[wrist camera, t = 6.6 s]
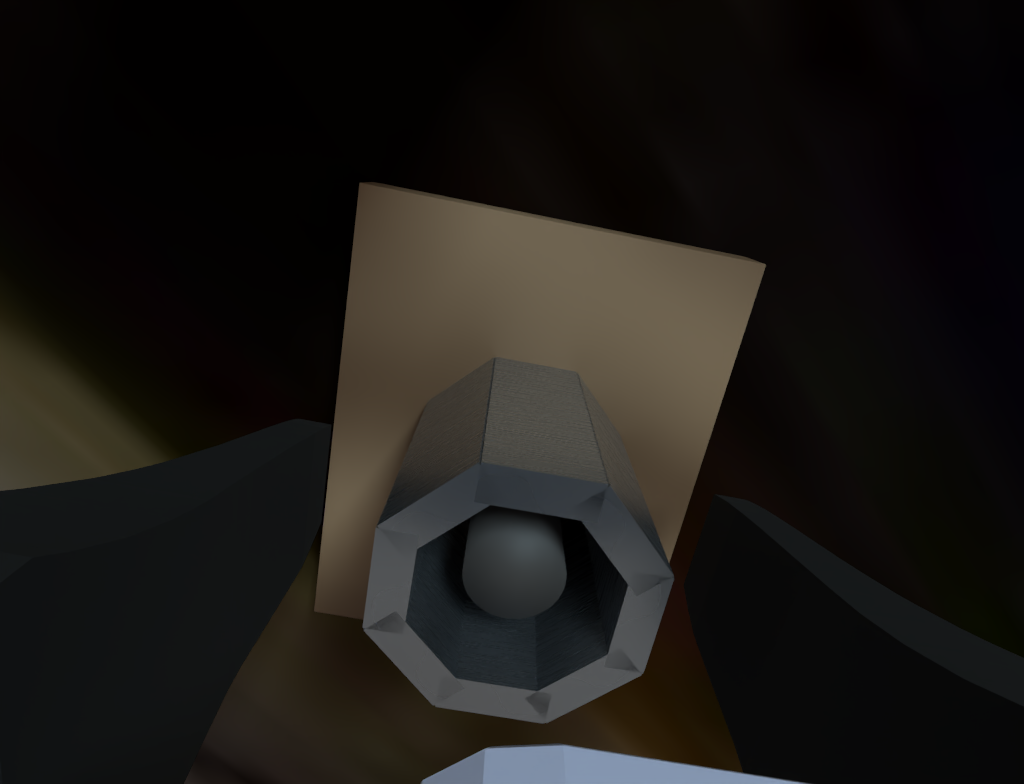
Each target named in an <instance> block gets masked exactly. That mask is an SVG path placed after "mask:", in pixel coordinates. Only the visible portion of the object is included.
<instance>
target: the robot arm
mask: <svg viewBox="0 0 1024 784" xmlns="http://www.w3.org/2000/svg"><path fill="white" fill-rule="evenodd" d="M330 435H331V425H330V424H325V423H319V422H314V421H308V420H303V419H294V420H289V421H286V422H283V423H280V424H277V425H274V426H271V427H268V428H265V429H263V430H260V431H257V432H254V433H252V434H249V435H246V436H243V437H240V438H238V439H235V440H232V441H229V442H226V443H224V444H221V445H218V446H215V447H212V448H208V449H205V450H202V451H199V452H196V453H192V454H189V455H186V456H183V457H180V458H176V459H173V460H170V461H166V462H163V463H159V464H155V465H151V466H147V467H143V468H139V469H135V470H130V471H126V472H121V473H117V474H112V475H107V476H102V477H97V478H92V479H85V480H78V481H72V482H65V483H58V484H51V485H45V486H38V487H31V488H24V489H15V490H6V491H0V784H184V782H185V780H186V777H187V775H188V773H189V771H190V769H191V766H192V764H193V762H194V760H195V758H196V756H197V753H198V751H199V749H200V747H201V745H202V743H203V741H204V738H205V736H206V734H207V732H208V730H209V728H210V726H211V724H212V722H213V720H214V718H215V716H216V713H217V711H218V709H219V707H220V705H221V703H222V701H223V699H224V697H225V695H226V693H227V691H228V689H229V687H230V685H231V683H232V682H233V680H234V678H235V676H236V674H237V673H238V671H239V669H240V667H241V665H242V664H243V662H244V661H245V659H246V657H247V656H248V654H249V652H250V651H251V649H252V648H253V646H254V644H255V643H256V641H257V639H258V638H259V636H260V635H261V633H262V631H263V630H264V628H265V627H266V625H267V623H268V622H269V620H270V618H271V617H272V615H273V614H274V612H275V610H276V609H277V607H278V606H279V604H280V602H281V601H282V599H283V597H284V596H285V594H286V592H287V591H288V589H289V587H290V586H291V584H292V583H293V581H294V579H295V578H296V576H297V574H298V573H299V571H300V569H301V567H302V566H303V563H304V561H305V559H306V557H307V555H308V552H309V550H310V548H311V546H312V543H313V541H314V538H315V536H316V534H317V531H318V529H319V526H320V524H321V520H322V511H323V501H324V492H325V482H326V473H327V463H328V454H329V444H330ZM684 589H685V594H686V600H687V605H688V611H689V615H690V620H691V624H692V629H693V633H694V636H695V639H696V642H697V644H698V647H699V650H700V653H701V656H702V658H703V661H704V664H705V667H706V669H707V672H708V675H709V678H710V680H711V683H712V686H713V688H714V691H715V694H716V696H717V699H718V702H719V704H720V707H721V710H722V713H723V715H724V718H725V721H726V723H727V726H728V729H729V731H730V734H731V737H732V739H733V742H734V745H735V748H736V751H737V754H738V757H739V760H740V763H741V766H742V770H743V773H742V772H735V771H729V770H723V769H717V768H710V767H704V766H698V765H691V764H685V763H679V762H672V761H666V760H660V759H654V758H647V757H641V756H635V755H628V754H622V753H616V752H609V751H603V750H597V749H591V748H584V747H578V746H572V745H565V744H535V745H511V746H491V747H488V748H485V749H483V750H481V751H479V752H477V753H475V754H473V755H471V756H469V757H467V758H465V759H463V760H461V761H460V762H458V763H456V764H454V765H452V766H450V767H448V768H446V769H444V770H442V771H440V772H438V773H436V774H434V775H432V776H430V777H428V778H426V779H424V780H422V782H421V784H1024V658H1022V657H1020V656H1018V655H1016V654H1013V653H1011V652H1009V651H1007V650H1005V649H1002V648H1000V647H998V646H996V645H994V644H991V643H989V642H987V641H985V640H983V639H981V638H979V637H977V636H975V635H973V634H971V633H969V632H966V631H964V630H962V629H960V628H958V627H957V626H955V625H953V624H951V623H949V622H947V621H945V620H943V619H941V618H940V617H938V616H936V615H934V614H932V613H930V612H928V611H926V610H925V609H923V608H921V607H919V606H917V605H915V604H913V603H912V602H910V601H908V600H906V599H905V598H903V597H901V596H899V595H898V594H896V593H894V592H893V591H891V590H889V589H888V588H886V587H884V586H883V585H881V584H879V583H878V582H876V581H875V580H873V579H871V578H870V577H868V576H866V575H865V574H863V573H861V572H860V571H858V570H857V569H855V568H854V567H852V566H851V565H849V564H847V563H846V562H844V561H843V560H841V559H840V558H838V557H837V556H835V555H834V554H832V553H831V552H829V551H828V550H826V549H825V548H823V547H822V546H820V545H819V544H817V543H816V542H814V541H813V540H811V539H810V538H808V537H807V536H805V535H804V534H802V533H801V532H799V531H798V530H796V529H795V528H793V527H792V526H790V525H789V524H787V523H786V522H784V521H783V520H781V519H779V518H778V517H776V516H775V515H773V514H771V513H770V512H768V511H767V510H765V509H763V508H761V507H760V506H758V505H756V504H754V503H752V502H749V501H747V500H743V499H738V498H732V497H727V496H721V495H716V494H714V497H713V500H712V503H711V506H710V509H709V512H708V515H707V518H706V521H705V524H704V527H703V529H702V532H701V535H700V538H699V541H698V544H697V547H696V550H695V553H694V556H693V559H692V562H691V565H690V568H689V571H688V574H687V577H686V580H685V583H684Z"/></svg>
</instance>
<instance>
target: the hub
mask: <svg viewBox="0 0 1024 784" xmlns="http://www.w3.org/2000/svg"><path fill="white" fill-rule="evenodd" d="M490 505H494V506H500V507H506V508H511V509H517V510H523V511H529V512H534V513H540V514H546V515H552V516H558V517H560V520H561V529H562V538H563V546H564V555H565V564H566V573H567V576H566V584H565V587H564V590H563V592H562V594H561V596H560V597H559V599H558V600H557V601H556V602H555V603H554V604H553V605H552V606H551V607H550V608H549V609H547V610H545V611H544V612H542V613H540V614H538V615H535V616H532V617H528V618H522V619H508V618H502V617H498V616H495V615H492V614H490V613H488V612H486V611H484V610H483V609H481V608H480V607H479V606H477V605H476V604H475V603H474V602H473V601H472V600H471V598H470V597H469V595H468V594H467V592H466V590H465V587H464V584H463V579H462V571H463V564H464V557H465V550H466V543H467V536H468V530H469V523H470V517H471V516H473V515H475V514H476V513H478V512H480V511H481V510H483V509H485V508H486V507H488V506H490ZM673 581H674V575H673V572H672V570H671V567H670V564H669V562H668V559H667V557H666V554H665V551H664V549H663V546H662V543H661V541H660V538H659V536H658V533H657V530H656V528H655V525H654V522H653V520H652V517H651V515H650V512H649V509H648V507H647V504H646V501H645V499H644V496H643V494H642V491H641V488H640V486H639V483H638V480H637V478H636V475H635V473H634V470H633V467H632V465H631V462H630V460H629V457H628V454H627V452H626V449H625V446H624V444H623V441H622V439H621V436H620V434H619V432H618V431H617V430H616V428H615V427H614V425H613V424H612V422H611V421H610V419H609V418H608V416H607V415H606V413H605V412H604V410H603V409H602V407H601V406H600V404H599V403H598V402H597V400H596V399H595V397H594V396H593V394H592V393H591V391H590V390H589V388H588V387H587V385H586V384H585V382H584V381H583V379H582V378H581V376H580V375H579V374H578V373H577V372H576V371H571V370H565V369H560V368H554V367H549V366H544V365H538V364H533V363H527V362H522V361H516V360H511V359H506V358H500V357H496V359H495V358H494V357H493V358H492V359H490V360H489V361H487V362H486V363H484V364H483V365H481V366H480V367H478V368H477V369H475V370H474V371H472V372H471V373H469V374H468V375H466V376H465V377H463V378H462V379H460V380H459V381H457V382H456V383H454V384H452V385H451V386H449V387H448V388H446V389H445V390H443V391H442V392H440V393H439V394H437V395H436V396H434V397H433V398H431V399H430V400H428V402H427V404H426V407H425V409H424V412H423V414H422V416H421V419H420V421H419V424H418V426H417V429H416V431H415V433H414V436H413V438H412V441H411V443H410V446H409V448H408V450H407V453H406V455H405V458H404V460H403V463H402V465H401V468H400V470H399V472H398V475H397V477H396V480H395V482H394V485H393V487H392V489H391V492H390V494H389V497H388V499H387V502H386V504H385V506H384V509H383V511H382V514H381V516H380V519H379V521H378V523H377V526H376V529H375V537H374V544H373V552H372V559H371V567H370V575H369V582H368V590H367V597H366V605H365V612H364V620H363V628H364V629H363V630H364V631H365V633H366V634H367V635H368V636H369V637H370V638H371V639H372V640H373V641H374V642H375V643H376V644H377V646H378V647H379V648H380V649H381V650H382V651H383V652H384V653H385V654H386V655H387V656H388V657H389V659H390V660H391V661H392V662H393V663H394V664H395V665H396V666H397V667H398V668H399V669H400V670H401V672H402V673H403V674H404V675H405V676H406V677H407V678H408V679H409V680H410V681H411V682H412V684H413V685H414V686H415V687H416V688H417V689H418V690H419V691H420V692H421V693H422V694H423V695H424V697H425V698H426V699H427V700H428V701H429V702H430V703H431V704H432V705H435V707H440V708H446V709H453V710H459V711H465V712H472V713H478V714H485V715H491V716H498V717H504V718H510V719H517V720H523V721H530V722H536V723H542V724H544V722H546V723H548V722H550V721H552V720H554V719H556V718H558V717H560V716H562V715H564V714H566V713H568V712H570V711H572V710H574V709H576V708H578V707H580V706H582V705H584V704H586V703H588V702H590V701H592V700H594V699H596V698H597V697H599V696H601V695H603V694H605V693H607V692H609V691H611V690H613V689H615V688H617V687H619V686H621V685H623V684H625V683H627V682H629V681H631V680H633V679H635V678H637V677H639V676H641V675H642V673H644V670H645V667H646V664H647V661H648V658H649V655H650V652H651V648H652V645H653V642H654V639H655V636H656V633H657V630H658V627H659V624H660V621H661V618H662V615H663V612H664V609H665V605H666V602H667V599H668V596H669V593H670V590H671V587H672V584H673Z"/></svg>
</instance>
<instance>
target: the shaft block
mask: <svg viewBox="0 0 1024 784" xmlns="http://www.w3.org/2000/svg"><path fill="white" fill-rule="evenodd" d="M765 267H766V264H763V263H760V262H758V261H755V260H752V259H749V258H747V257H743V256H738V255H733V254H728V253H723V252H718V251H713V250H708V249H703V248H698V247H693V246H688V245H684V244H679V243H674V242H669V241H664V240H659V239H654V238H649V237H644V236H639V235H634V234H629V233H624V232H619V231H614V230H609V229H604V228H599V227H594V226H589V225H584V224H580V223H575V222H570V221H565V220H560V219H555V218H550V217H545V216H540V215H535V214H530V213H525V212H520V211H515V210H510V209H505V208H500V207H495V206H490V205H485V204H480V203H475V202H471V201H466V200H461V199H456V198H451V197H446V196H441V195H436V194H431V193H426V192H421V191H416V190H411V189H406V188H401V187H396V186H391V185H386V184H381V183H376V182H363V183H359V193H358V202H357V212H356V221H355V231H354V240H353V249H352V259H351V268H350V278H349V287H348V296H347V306H346V315H345V325H344V334H343V344H342V353H341V362H340V372H339V381H338V391H337V400H336V410H335V419H334V428H333V438H332V447H331V457H330V466H329V475H328V485H327V494H326V504H325V513H324V523H323V532H322V541H321V551H320V560H319V570H318V579H317V588H316V598H315V607H314V612H320V613H326V614H332V615H338V616H344V617H350V618H356V619H362V620H364V612H365V605H366V597H367V590H368V582H369V575H370V567H371V559H372V552H373V544H374V537H375V529H376V526H377V523H378V521H379V519H380V516H381V514H382V511H383V509H384V506H385V504H386V502H387V499H388V497H389V494H390V492H391V489H392V487H393V485H394V482H395V480H396V477H397V475H398V472H399V470H400V468H401V465H402V463H403V460H404V458H405V455H406V453H407V450H408V448H409V446H410V443H411V441H412V438H413V436H414V433H415V431H416V429H417V426H418V424H419V421H420V419H421V416H422V414H423V412H424V409H425V407H426V404H427V402H428V400H430V399H431V398H433V397H434V396H436V395H437V394H439V393H440V392H442V391H443V390H445V389H446V388H448V387H449V386H451V385H452V384H454V383H456V382H457V381H459V380H460V379H462V378H463V377H465V376H466V375H468V374H469V373H471V372H472V371H474V370H475V369H477V368H478V367H480V366H481V365H483V364H484V363H486V362H487V361H489V360H490V359H492V358H493V357H494V358H495V359H496V357H500V358H506V359H511V360H516V361H522V362H527V363H533V364H538V365H544V366H549V367H554V368H560V369H565V370H571V371H576V372H577V373H578V374H579V375H580V376H581V378H582V379H583V381H584V382H585V384H586V385H587V387H588V388H589V390H590V391H591V393H592V394H593V396H594V397H595V399H596V400H597V402H598V403H599V404H600V406H601V407H602V409H603V410H604V412H605V413H606V415H607V416H608V418H609V419H610V421H611V422H612V424H613V425H614V427H615V428H616V430H617V431H618V432H619V434H620V436H621V439H622V441H623V444H624V446H625V449H626V452H627V454H628V457H629V460H630V462H631V465H632V467H633V470H634V473H635V475H636V478H637V480H638V483H639V486H640V488H641V491H642V494H643V496H644V499H645V501H646V504H647V507H648V509H649V512H650V515H651V517H652V520H653V522H654V525H655V528H656V530H657V533H658V536H659V538H660V541H661V543H662V546H663V549H664V551H665V554H666V557H667V559H668V562H670V559H671V556H672V553H673V550H674V546H675V543H676V540H677V537H678V534H679V531H680V528H681V525H682V522H683V519H684V516H685V513H686V510H687V506H688V503H689V500H690V497H691V494H692V491H693V488H694V485H695V482H696V479H697V476H698V473H699V470H700V466H701V463H702V460H703V457H704V454H705V451H706V448H707V445H708V442H709V439H710V436H711V433H712V430H713V426H714V423H715V420H716V417H717V414H718V411H719V408H720V405H721V402H722V399H723V396H724V393H725V390H726V387H727V383H728V380H729V377H730V374H731V371H732V368H733V365H734V362H735V359H736V356H737V353H738V350H739V347H740V343H741V340H742V337H743V334H744V331H745V328H746V325H747V322H748V319H749V316H750V313H751V310H752V307H753V303H754V300H755V297H756V294H757V291H758V288H759V285H760V282H761V279H762V276H763V273H764V270H765ZM566 576H567V573H566V564H565V555H564V546H563V538H562V529H561V520H560V517H558V516H552V515H546V514H540V513H534V512H529V511H523V510H517V509H511V508H506V507H500V506H494V505H490V506H488V507H486V508H485V509H483V510H481V511H480V512H478V513H476V514H475V515H473V516H471V517H470V523H469V530H468V536H467V543H466V550H465V557H464V564H463V571H462V579H463V584H464V587H465V590H466V592H467V594H468V595H469V597H470V598H471V600H472V601H473V602H474V603H475V604H476V605H477V606H479V607H480V608H481V609H483V610H484V611H486V612H488V613H490V614H492V615H495V616H498V617H502V618H508V619H522V618H528V617H532V616H535V615H538V614H540V613H542V612H544V611H545V610H547V609H549V608H550V607H551V606H552V605H553V604H554V603H555V602H556V601H557V600H558V599H559V597H560V596H561V594H562V592H563V590H564V587H565V584H566Z"/></svg>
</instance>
